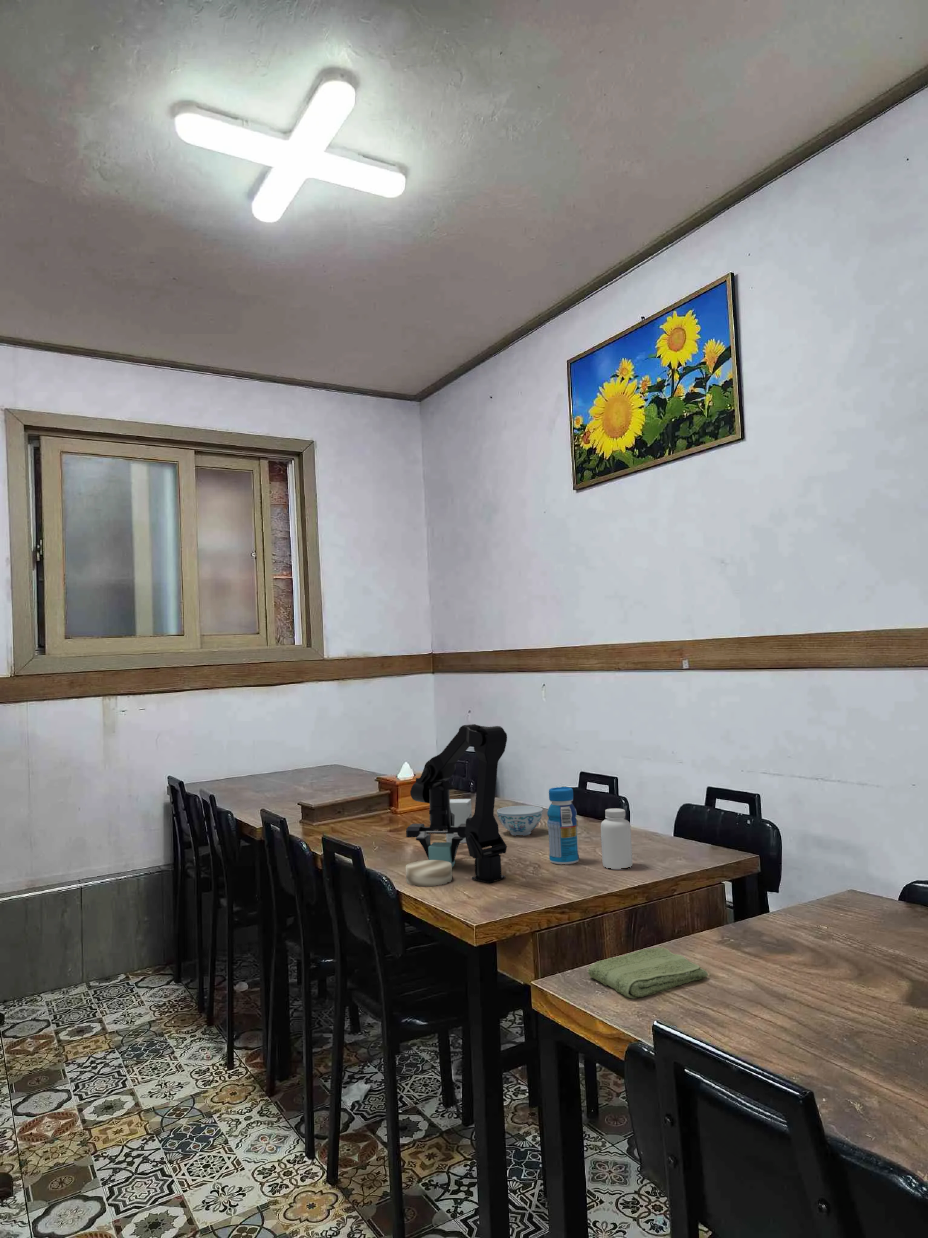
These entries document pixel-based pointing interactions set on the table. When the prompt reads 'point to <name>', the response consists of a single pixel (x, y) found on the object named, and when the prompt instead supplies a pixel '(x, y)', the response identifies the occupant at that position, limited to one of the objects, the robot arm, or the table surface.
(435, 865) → the birch riser
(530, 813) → the chinaware
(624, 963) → the washcloth
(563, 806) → the beverage bottle
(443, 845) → the teal block
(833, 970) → the table surface
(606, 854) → the pill bottle
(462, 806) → the supplement box
